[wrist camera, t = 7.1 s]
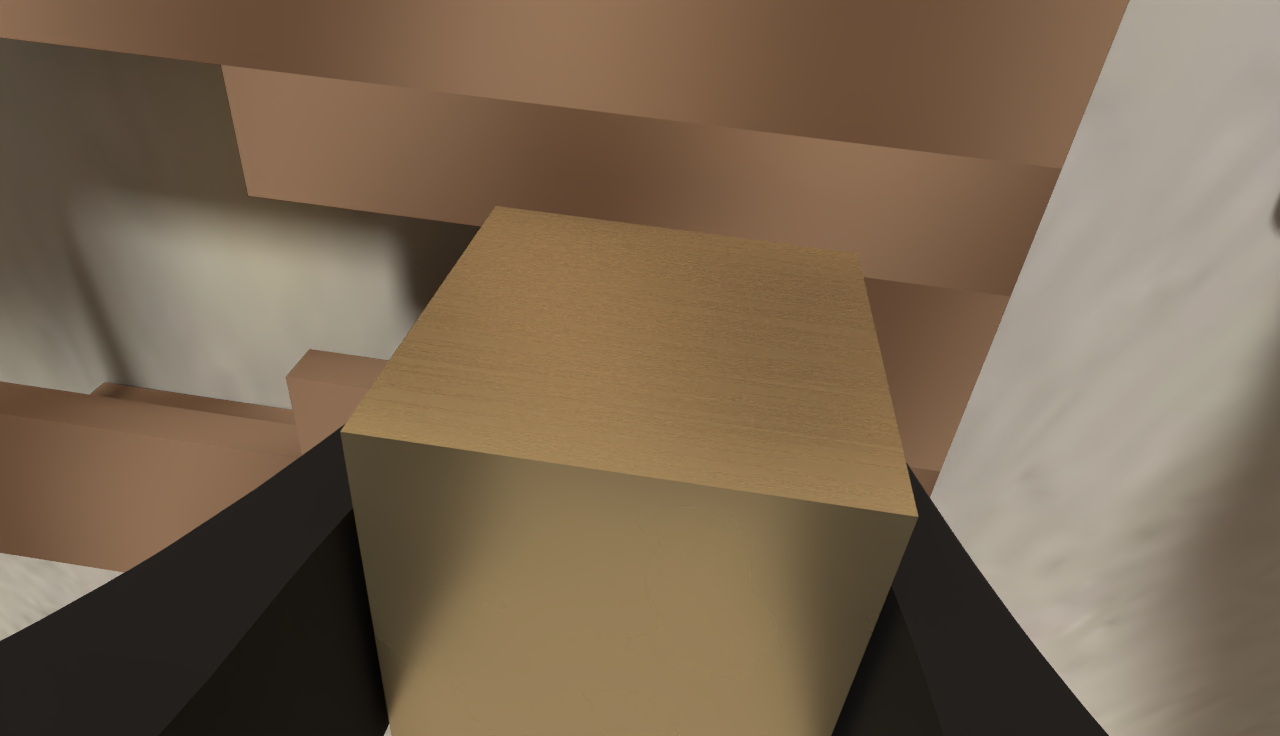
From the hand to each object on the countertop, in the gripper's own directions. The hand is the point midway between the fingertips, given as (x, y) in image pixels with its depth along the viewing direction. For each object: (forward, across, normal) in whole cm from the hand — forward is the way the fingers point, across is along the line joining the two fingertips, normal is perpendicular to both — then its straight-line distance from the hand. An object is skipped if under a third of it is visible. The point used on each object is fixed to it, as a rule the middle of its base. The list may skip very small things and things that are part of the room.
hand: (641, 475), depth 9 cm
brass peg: (+6, 0, 0) cm, 6 cm away
